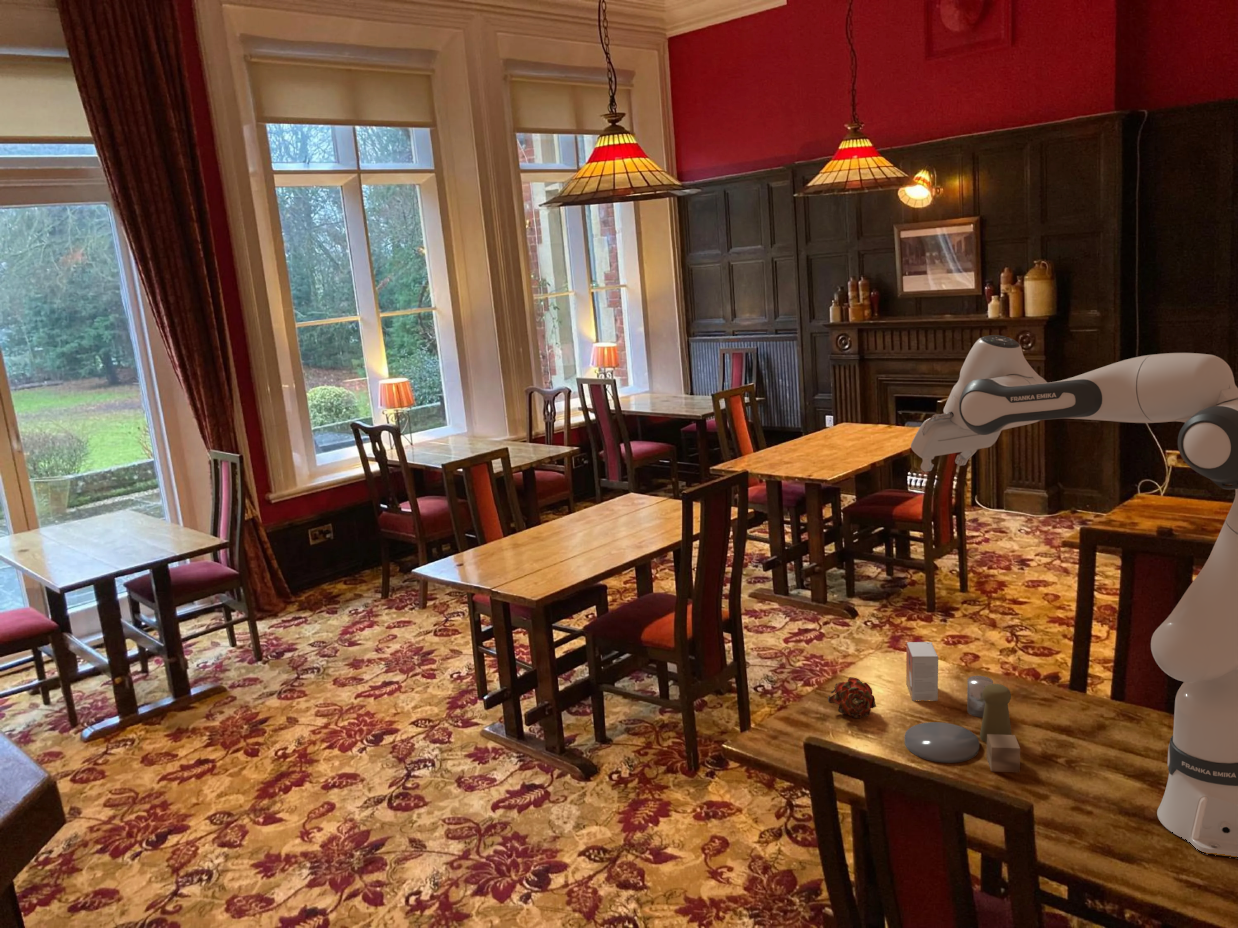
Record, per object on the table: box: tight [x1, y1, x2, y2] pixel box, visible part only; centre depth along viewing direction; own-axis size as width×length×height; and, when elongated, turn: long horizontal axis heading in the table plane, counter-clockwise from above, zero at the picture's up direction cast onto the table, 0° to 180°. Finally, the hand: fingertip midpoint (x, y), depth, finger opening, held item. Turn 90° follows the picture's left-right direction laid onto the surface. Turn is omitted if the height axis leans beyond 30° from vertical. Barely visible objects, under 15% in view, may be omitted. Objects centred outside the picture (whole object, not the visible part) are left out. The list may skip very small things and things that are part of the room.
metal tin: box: [966, 675, 994, 718], centre depth 203 cm, size 5×5×7 cm
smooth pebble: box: [904, 721, 980, 764], centre depth 192 cm, size 14×14×1 cm
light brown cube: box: [986, 734, 1021, 773], centre depth 183 cm, size 5×5×5 cm
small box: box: [905, 641, 939, 702], centre depth 213 cm, size 8×6×10 cm
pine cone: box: [827, 676, 877, 719], centre depth 206 cm, size 8×8×12 cm
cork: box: [979, 683, 1013, 744], centre depth 192 cm, size 6×6×11 cm
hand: (942, 466), depth 197 cm, fingers open, 8 cm apart
